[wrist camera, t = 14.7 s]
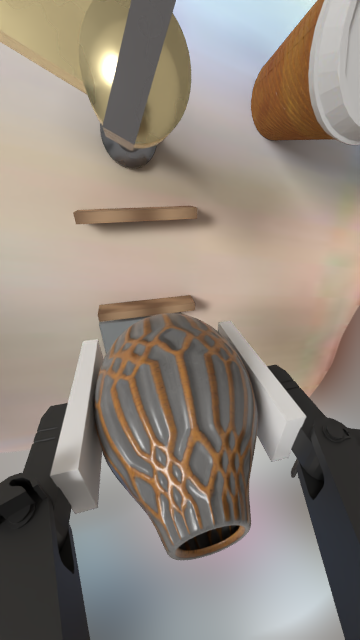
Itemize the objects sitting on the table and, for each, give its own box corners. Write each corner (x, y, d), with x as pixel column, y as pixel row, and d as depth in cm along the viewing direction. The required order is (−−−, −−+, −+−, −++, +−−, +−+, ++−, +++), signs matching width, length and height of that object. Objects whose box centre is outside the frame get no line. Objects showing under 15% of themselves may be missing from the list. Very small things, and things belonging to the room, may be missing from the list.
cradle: (101, 311, 29) (99, 321, 27) (77, 210, 23) (73, 212, 21) (190, 301, 31) (194, 310, 29) (190, 205, 25) (197, 207, 23)
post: (106, 168, 22) (92, 155, 12) (95, 98, 19) (65, 1, 9) (157, 168, 23) (186, 155, 12) (153, 100, 20) (186, 15, 10)
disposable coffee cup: (228, 43, 19) (342, -111, 9) (330, 10, 20) (548, -174, 9) (241, 171, 24) (323, 162, 14) (321, 143, 25) (456, 116, 15)
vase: (232, 352, 15) (340, 514, 8) (146, 402, 16) (168, 596, 8) (184, 268, 11) (302, 429, 4) (73, 339, 12) (-6, 591, 5)
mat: (113, 380, 36) (113, 383, 35) (99, 322, 30) (99, 324, 29) (180, 369, 38) (181, 371, 37) (179, 312, 32) (180, 314, 31)
